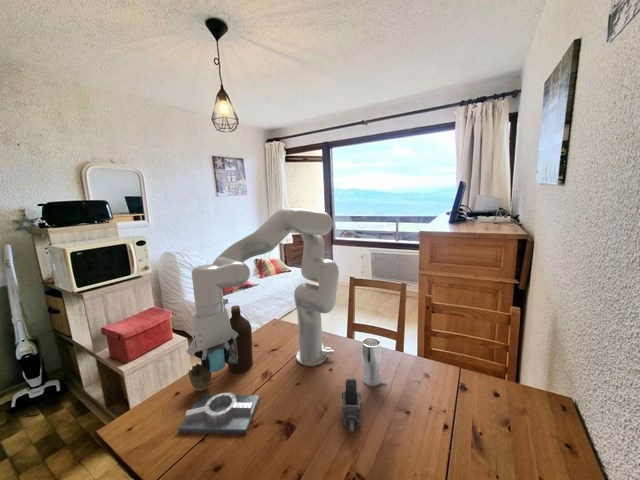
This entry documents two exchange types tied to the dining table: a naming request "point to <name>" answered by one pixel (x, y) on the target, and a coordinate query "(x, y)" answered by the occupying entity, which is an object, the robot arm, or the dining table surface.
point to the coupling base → (224, 426)
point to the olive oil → (240, 343)
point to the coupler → (216, 357)
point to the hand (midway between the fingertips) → (216, 364)
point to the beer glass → (371, 360)
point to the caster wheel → (351, 405)
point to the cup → (199, 377)
